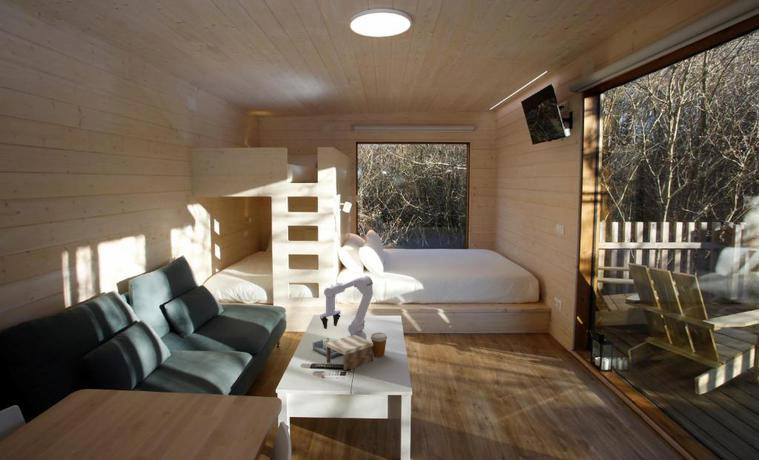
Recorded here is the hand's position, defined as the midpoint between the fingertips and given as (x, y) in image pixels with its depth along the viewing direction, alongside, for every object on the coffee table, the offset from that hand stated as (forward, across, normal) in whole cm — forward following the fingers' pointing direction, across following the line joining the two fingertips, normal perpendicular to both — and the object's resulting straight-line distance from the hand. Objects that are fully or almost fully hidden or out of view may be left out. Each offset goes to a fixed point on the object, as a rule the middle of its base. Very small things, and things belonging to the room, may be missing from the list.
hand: (330, 327), depth 280 cm
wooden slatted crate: (+9, +10, +32) cm, 34 cm away
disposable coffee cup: (+9, -8, +36) cm, 38 cm away
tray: (+9, +10, +12) cm, 18 cm away
